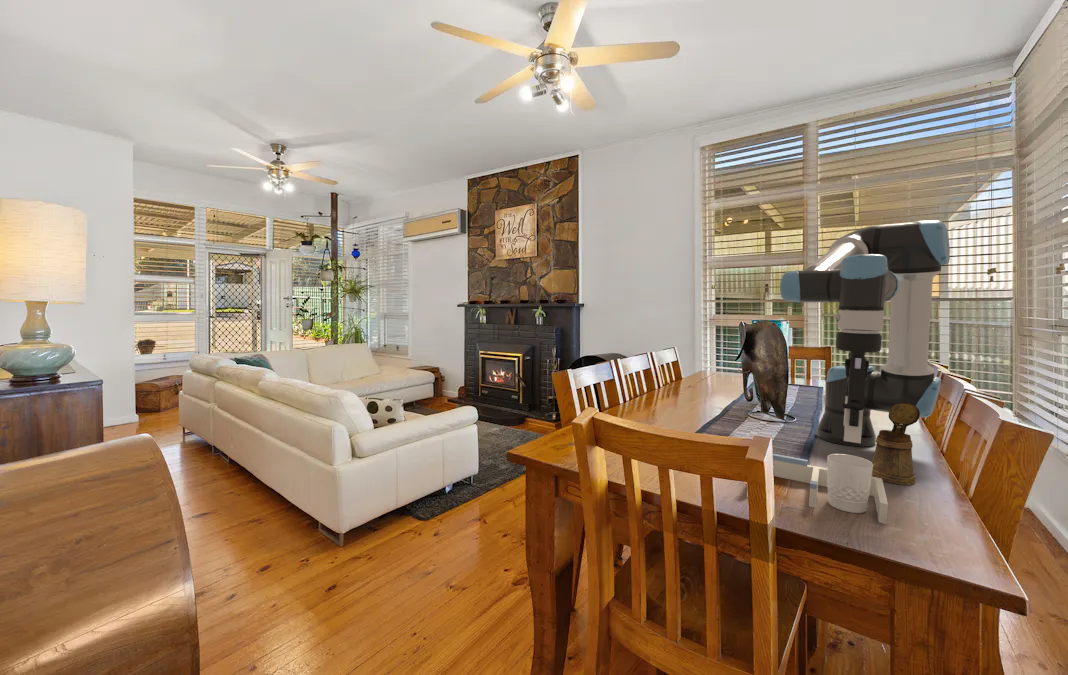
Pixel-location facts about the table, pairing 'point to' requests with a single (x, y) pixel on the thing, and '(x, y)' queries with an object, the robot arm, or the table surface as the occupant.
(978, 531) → the table surface
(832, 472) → the white cup
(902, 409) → the wooden mug
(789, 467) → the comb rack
